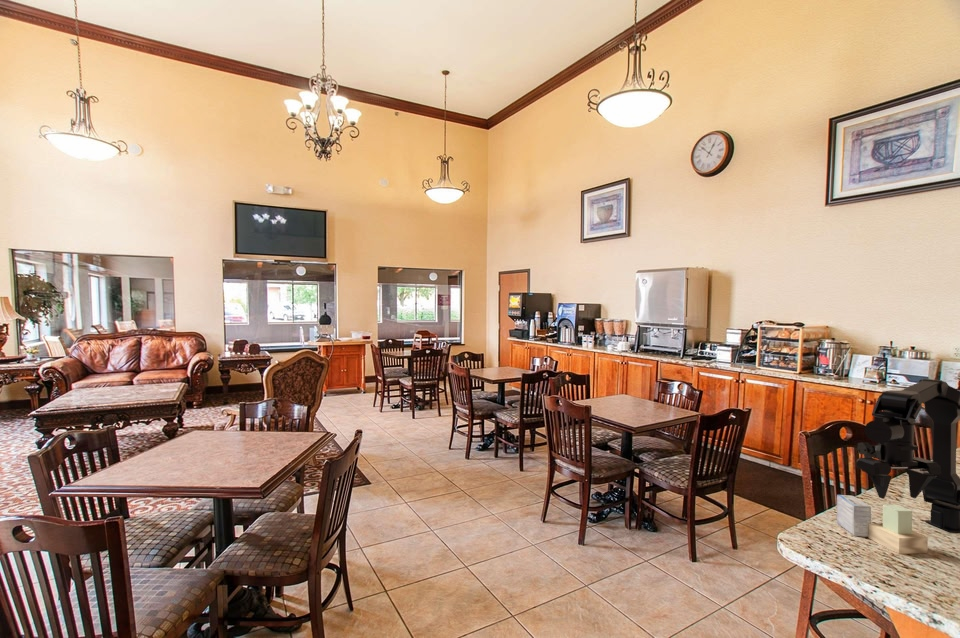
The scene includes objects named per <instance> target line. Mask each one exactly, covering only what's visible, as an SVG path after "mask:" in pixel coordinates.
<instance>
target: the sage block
mask: <svg viewBox="0 0 960 638" xmlns="http://www.w3.org/2000/svg"><path fill="white" fill-rule="evenodd" d="M882 523H883V527H884V528H886V529H888V530H891V531H893V532H895V533H897V534H912V531H913V511H912V510H911V509H908V508H906V507H904V506H901V505H899V504H883V505H882Z"/></svg>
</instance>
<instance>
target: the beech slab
mask: <svg viewBox="0 0 960 638" xmlns="http://www.w3.org/2000/svg"><path fill="white" fill-rule="evenodd" d="M928 538H929V537H927V536H925V535H923V534H920V533H918V532H917V531H914V530H912V534H897V533H895V532H893V531H891V530H888V529H886V528H884V527H883V522H882V523H881V522H879V523H876V522H875V523H871V524H869V537H868V539H869V540H871V541H873V542H875V543H877V544H879V545H881V546H883V547H885V548H887V549H889V550H891V551H893V552H895V553H897V554H899V555H902V554H903V555H904V554H928Z"/></svg>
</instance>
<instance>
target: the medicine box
mask: <svg viewBox="0 0 960 638" xmlns="http://www.w3.org/2000/svg"><path fill="white" fill-rule="evenodd" d="M836 524H837V525H839V526H840V527H841V528H843V529H844V530H846V531H847V532H848V533H850V534H851V535H853V536H854V537H864V538H869V524H872V506H870V505H869V504H868V503H866V502H864V501H863V500H861V499H859V498H857V497H856V496H854V495H849V494H847V495H845V494H836Z"/></svg>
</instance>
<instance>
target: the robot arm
mask: <svg viewBox="0 0 960 638" xmlns="http://www.w3.org/2000/svg"><path fill="white" fill-rule="evenodd" d="M922 404H923V405H924V412H925V414H927V416H928V417H929V418H930V419H931V420H932V459H931V460H929V459H926V458H923V457H914V451H919V446H918V445H915V444H914V437H915V434H914V432H915V431H914V430H915V429H914V428H915V427H914V425H915V423H916V419H917V417H918V415H919V413H920V412H921V411H922V407H923V405H922ZM871 416H873V420H870V421H868V422H867V423H866V424H865V426H864V428H863V429H864V430H863V431H864V433H865V436H866V437H867V438H868V439H869V440H870V441H872V442H874V443H876V444H877V445H871V444H870V443H869V442H857V452H858V454H859V455H863V457H859V458H857V459H856V468H857V469H860V470H861V472H863V473H866V474H867V475H868V476H869V478H870V479H871V481H872V484H873V486H874V488H875V490H876V493H877V496H878V498H879V499H882V500H884V499H885V498H886V496H887V493H888V489H889V486H890V482H891V480H892V475H891V474H890V473H892V470H904V471H905V473H906V474H907V475H908V487H909V496H910V498H912V499H917V498H918V496H919V495H920V494H922V497H923V501H924V502H925V503H930V504H931V509H930V519H928V520H927V519H926V520H925V523H927V524H929V525H932V526H934V527H936V528H939V529H941V530H944V531H945V532H948V533H960V476H959V475H958V474H957V423H958V422H959V421H960V390H958V389H957V388H955V387H953V386H950V385H949V384H948V383H947V381H944V380H941V379H934V378H933V379H931V378H923V379H919V381H918V382H915V384H912V385H910V386H907V387H905V388H904V389H900V390H897V389H896V390H895V389H894V390H892V389H891V390H884V391H883V392H882V393H881V394H880V395H878V398H877V400H876V403H875V406H874V408H873V410H872V413H871ZM889 474H890V475H889Z"/></svg>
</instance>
